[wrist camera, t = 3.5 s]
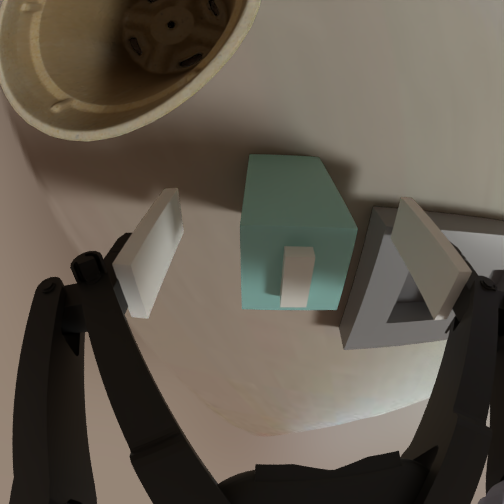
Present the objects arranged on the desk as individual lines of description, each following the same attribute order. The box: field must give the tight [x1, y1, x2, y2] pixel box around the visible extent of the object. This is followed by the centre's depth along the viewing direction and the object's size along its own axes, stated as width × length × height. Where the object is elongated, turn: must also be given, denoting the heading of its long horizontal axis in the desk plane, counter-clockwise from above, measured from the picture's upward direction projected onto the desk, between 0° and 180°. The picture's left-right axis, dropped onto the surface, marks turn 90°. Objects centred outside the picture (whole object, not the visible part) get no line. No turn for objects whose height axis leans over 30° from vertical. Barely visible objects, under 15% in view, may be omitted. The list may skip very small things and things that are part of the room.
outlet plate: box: [339, 206, 504, 350], centre depth 20 cm, size 12×20×2 cm, turn 90°
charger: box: [240, 154, 358, 310], centre depth 14 cm, size 4×4×9 cm
